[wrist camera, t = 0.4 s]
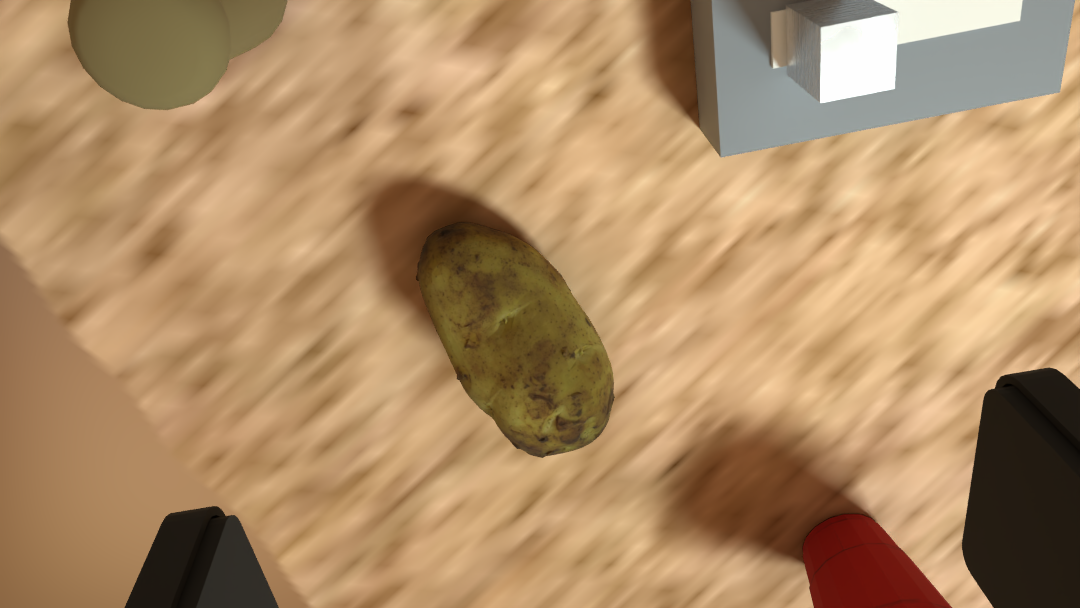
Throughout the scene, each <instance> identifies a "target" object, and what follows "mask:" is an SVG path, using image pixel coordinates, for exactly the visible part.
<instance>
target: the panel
mask: <svg viewBox="0 0 1080 608" xmlns="http://www.w3.org/2000/svg"><path fill="white" fill-rule="evenodd" d="M805 1H811V0H691V13H692V27H693V41H694V55H695V69H696V83H697V97H698V111H699V125H700V130H701V131H702V132H703V134H704V135H705V137H706V138H707V139H708V141H709V142H710V143H711V145H712V146H713V147H714V149H715V150H716V152H717V153H718V154H719V156H720V157H726V156H731V155H736V154H741V153H746V152H752V151H757V150H762V149H767V148H773V147H778V146H783V145H788V144H793V143H799V142H804V141H809V140H814V139H819V138H825V137H830V136H835V135H840V134H845V133H851V132H856V131H861V130H866V129H871V128H877V127H882V126H887V125H892V124H898V123H903V122H908V121H913V120H918V119H924V118H929V117H934V116H939V115H944V114H950V113H955V112H960V111H965V110H970V109H976V108H981V107H986V106H991V105H996V104H1002V103H1007V102H1012V101H1017V100H1023V99H1028V98H1033V97H1038V96H1043V95H1049V94H1054V93H1059V92H1060V89H1061V82H1062V76H1063V70H1064V64H1065V58H1066V52H1067V46H1068V40H1069V33H1070V27H1071V21H1072V15H1073V9H1074V3H1075V0H874V1H876V2H879V3H881V4H883V5H885V6H887V7H889V8H891V9H893V10H895V11H897V12H899V18H898V35H897V53H896V71H895V89H891V90H886V91H881V92H875V93H870V94H865V95H860V96H855V97H849V98H844V99H839V100H834V101H829V102H824V103H819V102H818V101H817V100H816V99H815V98H814V97H812V96H811V95H810V94H809V93H808V92H806V91H805V90H804V89H803V88H802V87H800V86H799V85H798V84H797V83H796V82H794V81H793V80H792V79H791V78H790V77H788V76H787V63H786V5H790V4H795V3H800V2H805Z"/></svg>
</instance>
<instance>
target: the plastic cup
mask: <svg viewBox="0 0 1080 608" xmlns="http://www.w3.org/2000/svg"><path fill="white" fill-rule="evenodd" d="M802 549H803V553H804V554H803V559H804V563H805V567H806V571H807V575H808V579H809V583H810V587H809V589H810V593H811V597H812V601H813V605H814V608H952V607H951V606H950V605H949V604H948V602H947V601H946V600H945V599H944V598H943V596H942V595H941V594H940V593H939V592H938V591H937V589H936V588H935V587H934V586H933V585H932V584H931V582H930V581H929V580H928V579H927V578H926V576H925V575H924V574H923V573H922V572H921V571H920V569H919V568H918V567H917V566H916V565H915V564H914V562H913V561H912V560H911V559H910V558H909V557H908V556H907V555H906V554H905V553H904V551H903V550H902V549H901V548H899V547H898V546H897V545H896V543H895V542H894V541H893V540H892V539H891V537H890V536H889V535H888V534H887V533H886V532H885V530H884V529H883V528H882V527H881V526H880V525H879V524H878V523H876V522H875V521H874V520H873V519H872V518H869V517H866V516H864V515H861V514H843V515H840V516H836V517H833V518H829V519H827V520H826V521H824V522H822V523H821V524H819V525H818V526H816V527H815V528H814V529H813V530H812V531H811V532H810V533H809V535H808V536H807V537H806V539H805V542H804V545H803V548H802Z"/></svg>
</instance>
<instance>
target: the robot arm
mask: <svg viewBox="0 0 1080 608" xmlns="http://www.w3.org/2000/svg"><path fill="white" fill-rule="evenodd" d="M962 550H963V556H964V560H965V563H966V565H967V568H968V570H969V571H970V573H971V575H972V576H973V578H974V579H975V581H976V582H977V584H978V585H979V587H980V588H981V590H982V591H983V593H984V594H985V596H986V597H987V599H988V600H989V601H990V603H991V604H992V606H993V607H994V608H1080V389H1079V388H1078V387H1077V386H1076V385H1075V384H1074V383H1072V382H1071V381H1070V380H1069V379H1068V378H1067V377H1066V376H1065V375H1064V374H1062V373H1061V372H1059V371H1058V370H1057V369H1053V368H1044V369H1038V370H1032V371H1026V372H1020V373H1014V374H1008V375H1004V376H1001V377H1000V378H999V380H998V381H997V383H996V387H995V389H991V390H988V391H987V392H986V394H985V396H984V400H983V406H982V413H981V420H980V426H979V433H978V440H977V447H976V453H975V460H974V467H973V473H972V480H971V487H970V493H969V500H968V507H967V514H966V520H965V527H964V534H963V540H962ZM125 608H279V607H278V605H277V603H276V600H275V598H274V596H273V594H272V592H271V589H270V587H269V585H268V583H267V580H266V578H265V576H264V574H263V571H262V569H261V567H260V565H259V563H258V561H257V558H256V556H255V554H254V551H253V549H252V547H251V545H250V543H249V540H248V538H247V536H246V534H245V531H244V529H243V527H242V525H241V523H240V521H239V519H238V518H237V517H236V516H235V515H230V516H225V514H224V512H223V511H222V510H221V509H220V508H219V507H217V506H212V507H206V508H200V509H194V510H188V511H182V512H176V513H170V514H169V515H168V516H166V517H165V519H164V520H163V522H162V524H161V526H160V528H159V531H158V533H157V535H156V538H155V540H154V542H153V544H152V547H151V549H150V551H149V553H148V556H147V558H146V560H145V562H144V565H143V567H142V569H141V572H140V574H139V576H138V578H137V581H136V583H135V585H134V587H133V590H132V592H131V594H130V597H129V599H128V601H127V603H126V606H125Z"/></svg>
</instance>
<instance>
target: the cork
mask: <svg viewBox="0 0 1080 608" xmlns="http://www.w3.org/2000/svg"><path fill="white" fill-rule="evenodd" d="M286 4H287V0H71V3H70V10H69V16H68V28H69V33H70V38H71V44H72V47H73V49H74V51H75V53H76V55H77V57H78V59H79V61H80V62H81V64H82V66H83V68H84V69H85V70H86V71H87V73H88V74H89V75H90V76H91V77H92V78H93V79H94V80H95V81H96V83H97V84H98V85H99V86H100V87H101V88H103V89H104V90H106V91H107V92H109V93H110V94H112V95H113V96H115V97H116V98H118V99H119V100H121V101H124V102H126V103H129V104H132V105H135V106H138V107H141V108H144V109H157V110H169V109H174V108H178V107H182V106H186V105H190V104H194V103H195V102H197V101H198V100H200V99H201V98H203V97H204V96H206V95H207V94H209V93H210V92H211V91H212V90H213V89H214V87H215V86H216V85H217V83H218V82H219V80H220V79H221V77H222V76H223V74H224V73H225V72H226V70H227V67H228V63H229V60H230V59H232V58H234V57H236V56H238V55H241V54H243V53H245V52H247V51H249V50H251V49H253V48H255V47H256V46H258V45H259V44H261V43H262V42H264V41H265V40H267V39H268V38H270V37H271V36H272V34H273V33H274V31H275V30H276V29H277V27H278V26H279V24H280V23H281V22H282V19H283V15H284V12H285V8H286Z"/></svg>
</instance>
